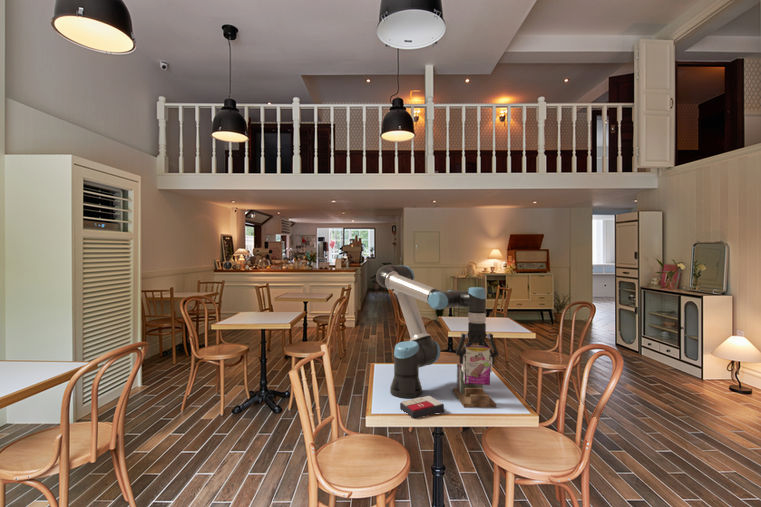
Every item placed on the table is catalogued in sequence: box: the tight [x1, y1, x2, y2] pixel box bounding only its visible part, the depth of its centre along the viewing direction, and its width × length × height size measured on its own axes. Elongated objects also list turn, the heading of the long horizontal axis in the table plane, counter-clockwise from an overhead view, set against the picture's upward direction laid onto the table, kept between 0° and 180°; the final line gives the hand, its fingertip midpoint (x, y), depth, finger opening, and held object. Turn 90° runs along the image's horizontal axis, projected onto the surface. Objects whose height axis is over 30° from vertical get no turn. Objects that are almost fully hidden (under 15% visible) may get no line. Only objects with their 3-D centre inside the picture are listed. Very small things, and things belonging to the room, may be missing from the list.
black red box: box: [399, 395, 445, 419], centre depth 153 cm, size 11×4×15 cm
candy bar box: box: [463, 344, 492, 386], centre depth 162 cm, size 11×5×16 cm, turn 84°
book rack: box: [452, 362, 497, 408], centre depth 168 cm, size 14×21×14 cm, turn 2°
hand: (476, 371), depth 162 cm, fingers closed on candy bar box, 11 cm apart
